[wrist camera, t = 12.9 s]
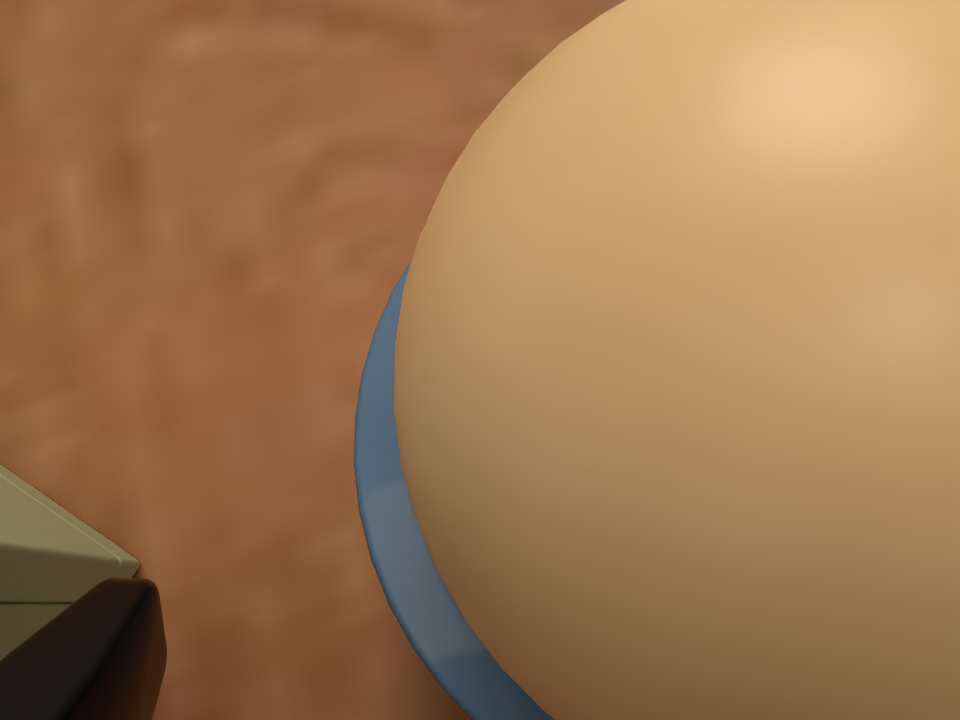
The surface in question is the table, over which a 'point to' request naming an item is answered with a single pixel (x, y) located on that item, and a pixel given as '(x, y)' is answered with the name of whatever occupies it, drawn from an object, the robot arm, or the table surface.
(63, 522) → the green square tray
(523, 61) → the table surface
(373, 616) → the table surface
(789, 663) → the peg doll
